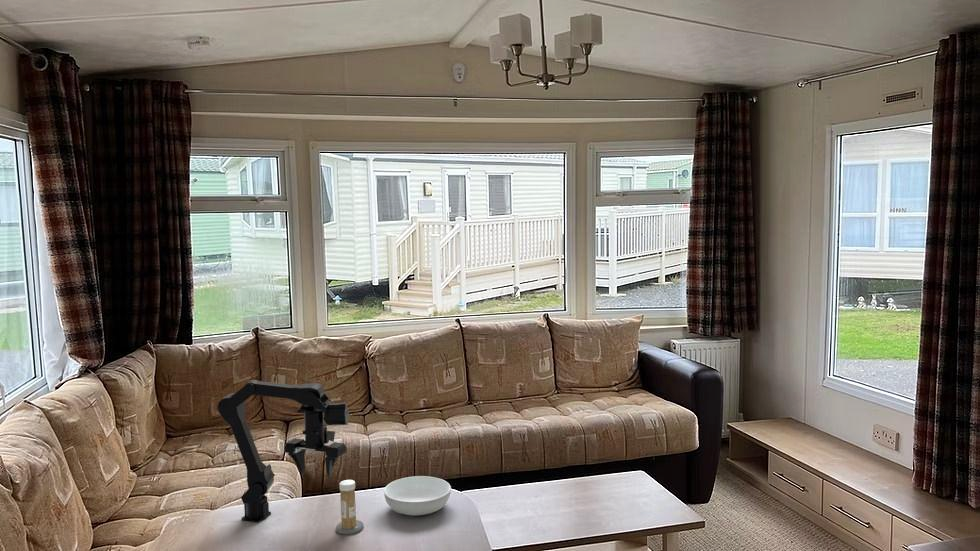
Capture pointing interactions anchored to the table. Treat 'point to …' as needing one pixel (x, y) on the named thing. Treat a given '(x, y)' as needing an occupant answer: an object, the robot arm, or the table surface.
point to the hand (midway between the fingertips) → (316, 474)
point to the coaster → (351, 531)
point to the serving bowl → (417, 495)
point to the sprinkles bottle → (348, 504)
